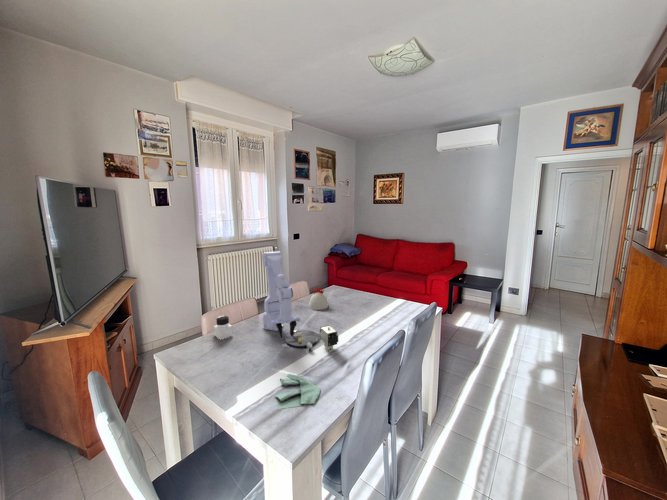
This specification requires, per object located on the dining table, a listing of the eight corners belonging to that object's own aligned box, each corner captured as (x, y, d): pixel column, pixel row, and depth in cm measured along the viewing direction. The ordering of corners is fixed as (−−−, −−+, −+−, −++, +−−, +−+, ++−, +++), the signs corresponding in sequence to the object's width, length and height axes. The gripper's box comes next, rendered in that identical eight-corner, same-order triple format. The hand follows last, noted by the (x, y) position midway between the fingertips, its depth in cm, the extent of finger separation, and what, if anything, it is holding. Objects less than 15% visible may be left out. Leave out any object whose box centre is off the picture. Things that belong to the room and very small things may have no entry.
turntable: (279, 343, 141) (279, 335, 141) (295, 330, 157) (294, 323, 156) (310, 349, 135) (310, 341, 135) (323, 334, 151) (323, 327, 151)
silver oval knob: (306, 350, 135) (306, 342, 135) (307, 348, 137) (307, 341, 136) (311, 351, 134) (311, 343, 134) (313, 349, 136) (313, 341, 135)
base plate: (276, 345, 141) (276, 344, 141) (294, 330, 158) (294, 329, 158) (310, 352, 134) (310, 351, 134) (325, 335, 152) (325, 334, 152)
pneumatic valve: (329, 357, 130) (329, 332, 128) (319, 346, 140) (319, 323, 138) (340, 354, 132) (340, 330, 131) (329, 344, 143) (329, 321, 141)
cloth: (321, 407, 98) (321, 400, 98) (258, 410, 96) (257, 404, 96) (319, 373, 118) (319, 368, 118) (267, 375, 116) (267, 370, 116)
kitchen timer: (327, 312, 188) (327, 290, 186) (307, 312, 188) (307, 290, 186) (328, 305, 202) (328, 285, 199) (309, 305, 202) (309, 285, 200)
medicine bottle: (233, 338, 149) (232, 316, 148) (220, 342, 144) (218, 320, 142) (226, 334, 154) (225, 313, 152) (214, 338, 149) (212, 317, 147)
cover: (289, 336, 143) (291, 329, 143) (294, 334, 148) (295, 327, 148) (298, 339, 142) (299, 332, 141) (302, 337, 146) (303, 330, 146)
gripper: (273, 315, 134) (274, 342, 136) (302, 311, 140) (302, 336, 142) (270, 310, 140) (270, 336, 142) (297, 306, 146) (298, 331, 148)
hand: (286, 336), depth 142 cm, fingers open, 5 cm apart
